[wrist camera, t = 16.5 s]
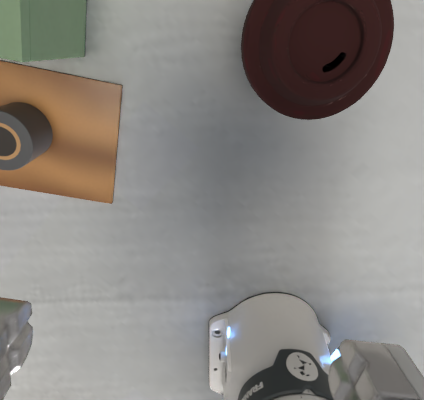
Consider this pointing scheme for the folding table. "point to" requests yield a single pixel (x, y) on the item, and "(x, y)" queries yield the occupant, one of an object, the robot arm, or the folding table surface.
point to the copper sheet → (67, 132)
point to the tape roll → (22, 135)
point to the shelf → (42, 29)
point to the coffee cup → (315, 52)
